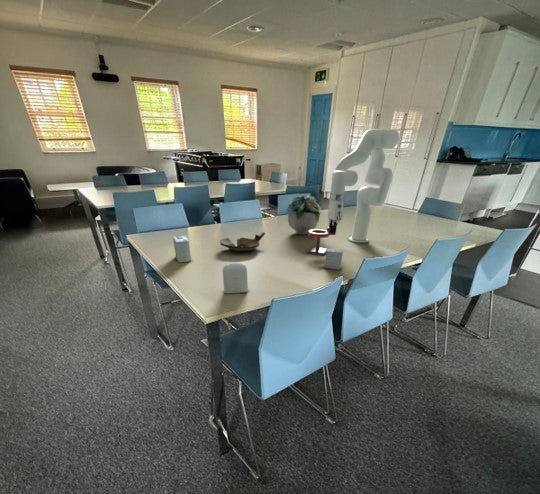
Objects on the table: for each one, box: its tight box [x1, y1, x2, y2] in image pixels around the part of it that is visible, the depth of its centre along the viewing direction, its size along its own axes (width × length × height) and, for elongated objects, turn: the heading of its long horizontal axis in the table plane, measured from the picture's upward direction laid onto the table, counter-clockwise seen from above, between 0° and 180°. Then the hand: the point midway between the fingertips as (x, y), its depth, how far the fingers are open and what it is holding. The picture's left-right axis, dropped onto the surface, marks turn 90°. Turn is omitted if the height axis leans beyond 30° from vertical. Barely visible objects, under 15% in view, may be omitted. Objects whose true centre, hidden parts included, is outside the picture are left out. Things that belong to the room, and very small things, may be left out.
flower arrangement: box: [285, 194, 323, 235], centre depth 214 cm, size 25×25×24 cm
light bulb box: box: [172, 235, 192, 263], centre depth 165 cm, size 11×7×11 cm, turn 23°
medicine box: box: [323, 248, 344, 271], centre depth 159 cm, size 8×4×9 cm, turn 71°
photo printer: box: [222, 262, 249, 294], centre depth 130 cm, size 10×4×12 cm, turn 100°
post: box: [306, 238, 328, 256], centre depth 182 cm, size 10×10×10 cm
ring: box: [307, 226, 337, 239], centre depth 178 cm, size 16×12×4 cm
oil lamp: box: [219, 231, 266, 252], centre depth 183 cm, size 22×30×8 cm
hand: (332, 232), depth 180 cm, fingers closed on ring, 2 cm apart
